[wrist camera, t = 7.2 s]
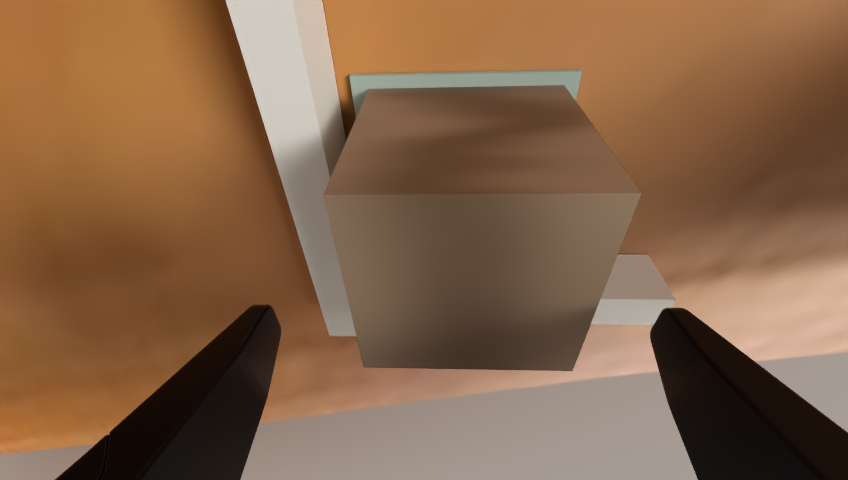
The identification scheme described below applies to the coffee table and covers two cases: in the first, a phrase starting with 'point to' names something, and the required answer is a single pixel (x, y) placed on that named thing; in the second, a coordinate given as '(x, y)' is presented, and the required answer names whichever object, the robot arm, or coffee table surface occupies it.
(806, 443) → the robot arm
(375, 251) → the walnut cube
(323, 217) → the white angled bracket
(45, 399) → the coffee table surface
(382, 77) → the pad
